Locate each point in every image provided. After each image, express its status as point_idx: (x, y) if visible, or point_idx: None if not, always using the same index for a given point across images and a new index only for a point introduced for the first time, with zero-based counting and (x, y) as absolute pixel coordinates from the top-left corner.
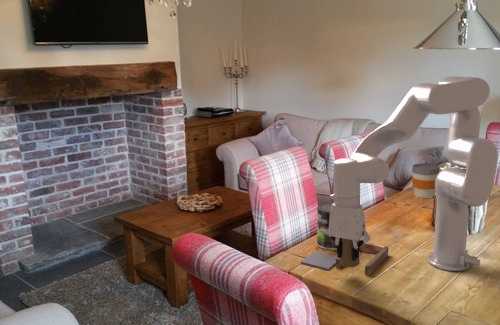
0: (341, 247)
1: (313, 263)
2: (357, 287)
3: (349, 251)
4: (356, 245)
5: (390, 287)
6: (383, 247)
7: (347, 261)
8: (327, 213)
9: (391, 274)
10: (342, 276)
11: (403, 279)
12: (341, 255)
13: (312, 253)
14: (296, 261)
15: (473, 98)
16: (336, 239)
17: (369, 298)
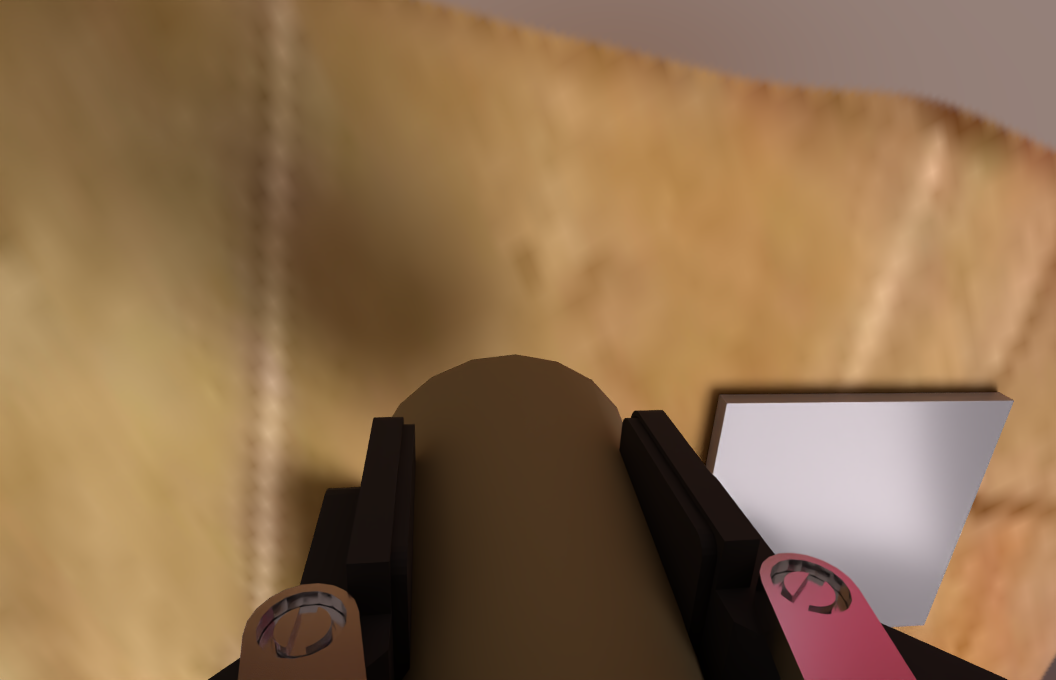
0: (673, 574)
1: (889, 427)
2: (316, 207)
3: (483, 530)
4: (262, 672)
5: (31, 387)
6: None
7: (495, 401)
8: None
9: (177, 612)
10: (554, 354)
11: (32, 586)
12: (622, 465)
13: (935, 584)
14: (1042, 405)
15: None
16: (883, 676)
17: (58, 9)
